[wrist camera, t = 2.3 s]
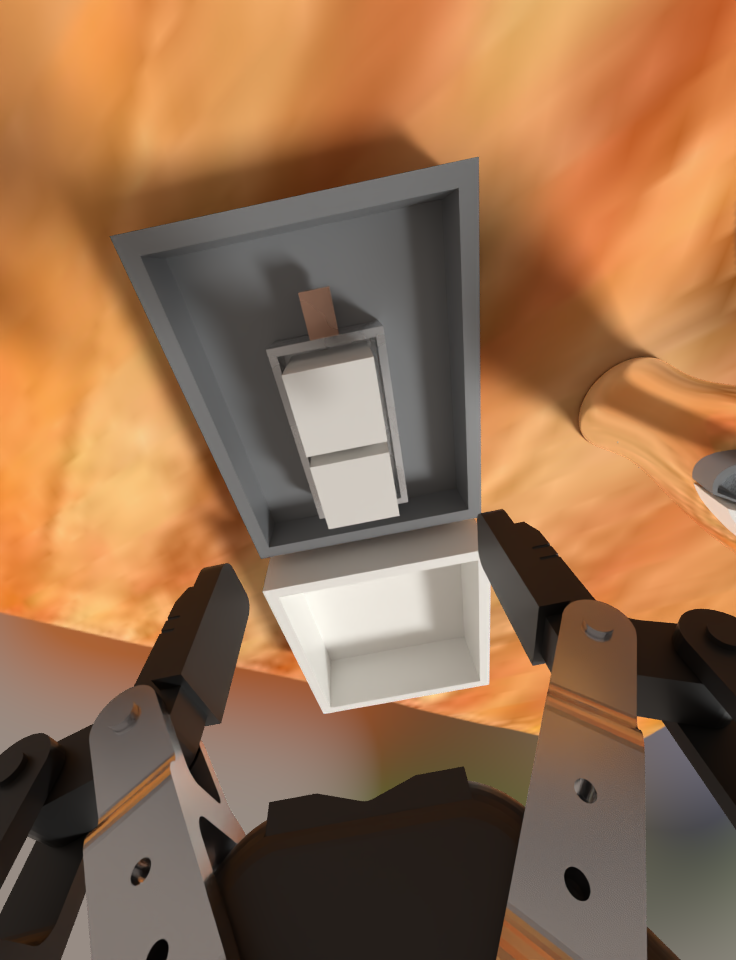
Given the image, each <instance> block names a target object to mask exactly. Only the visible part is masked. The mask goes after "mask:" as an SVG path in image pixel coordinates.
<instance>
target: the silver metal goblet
mask: <svg viewBox="0 0 736 960" xmlns="http://www.w3.org/2000/svg"><path fill="white" fill-rule="evenodd" d="M579 428H580V431H581V433H582V435H583V436H584V437H585V439H586V440H587V441H588V442H590V443H591V444H593V445H595V446H597V447H599V448H602V449H604V450H607V451H610V452H613V453H615V454H618V455H620V456H623V457H625V458H626V459H628V460H630V461H631V462H633V463H634V464H635V465H637V466H638V468H641V469H642V470H643V471H644V472H645V473H646V474H647V475H648V476H649V477H650V478H651V479H652V480H653V481H654V482H655V483H656V484H657V485H658V486H659V487H660V488H661V489H662V490H663V491H664V492H665V493H666V494H667V495H668V496H669V497H670V498H671V499H672V500H673V501H674V502H675V503H676V504H677V505H678V506H679V507H680V508H681V509H682V510H683V511H684V512H685V513H686V514H687V515H688V516H689V517H690V518H691V519H692V520H694V521H695V522H696V523H697V524H698V525H699V526H700V527H701V528H702V529H704V530H705V531H706V532H707V533H708V534H709V535H711V536H712V537H713V538H715V539H716V540H717V541H719V542H720V543H721V544H723V545H724V546H725V547H727V548H728V549H729V550H731V551H732V552H733V553H735V554H736V385H730V384H722V383H715V382H710V381H706V380H701V379H698V378H695V377H693V376H690V375H688V374H686V373H684V372H682V371H680V370H679V369H677V368H675V367H674V366H672V365H670V364H668V363H667V362H665V361H663V360H660V359H657V358H653V357H638V358H633V359H629V360H626V361H624V362H622V363H619V364H618V365H616V366H614V367H612V368H611V369H609V370H608V371H607V372H605V373H604V374H603V375H602V376H601V377H600V378H599V379H598V380H597V381H596V382H595V383H594V384H593V385H592V387H591V388H590V389H589V391H588V392H587V394H586V396H585V398H584V400H583V402H582V404H581V407H580V411H579Z"/></svg>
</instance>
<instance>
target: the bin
mask: <svg viewBox="0 0 736 960" xmlns="http://www.w3.org/2000/svg"><path fill="white" fill-rule="evenodd" d="M490 586H491V583H490V582H489V580H488V578H487V576H486V574H485V572H484V570H483V568H482V565H481V562H480V558H479V554H478V531H477V523H476V521H475V519H474V518H473V519H468V520H463V521H457V522H452V523H447V524H442V525H436V526H431V527H426V528H421V529H415V530H410V531H405V532H400V533H394V534H389V535H384V536H379V537H373V538H368V539H363V540H358V541H352V542H347V543H342V544H337V545H331V546H326V547H321V548H316V549H310V550H305V551H300V552H295V553H289V554H284V555H279V556H274V557H270V561H269V565H268V570H267V574H266V578H265V583H264V587H263V594H264V596H265V598H266V600H267V602H268V604H269V606H270V608H271V610H272V612H273V614H274V616H275V618H276V620H277V622H278V624H279V626H280V628H281V630H282V632H283V634H284V636H285V638H286V640H287V642H288V644H289V646H290V648H291V650H292V652H293V654H294V656H295V658H296V660H297V662H298V664H299V666H300V667H301V669H302V671H303V673H304V675H305V677H306V679H307V681H308V683H309V685H310V687H311V689H312V691H313V693H314V695H315V697H316V699H317V701H318V703H319V705H320V707H321V709H322V711H323V713H324V714H326V713H331V712H337V711H342V710H348V709H354V708H359V707H365V706H371V705H376V704H382V703H387V702H393V701H399V700H404V699H410V698H416V697H421V696H427V695H432V694H438V693H444V692H449V691H455V690H460V689H466V688H472V687H477V686H483V685H488V684H489V660H490Z"/></svg>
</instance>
